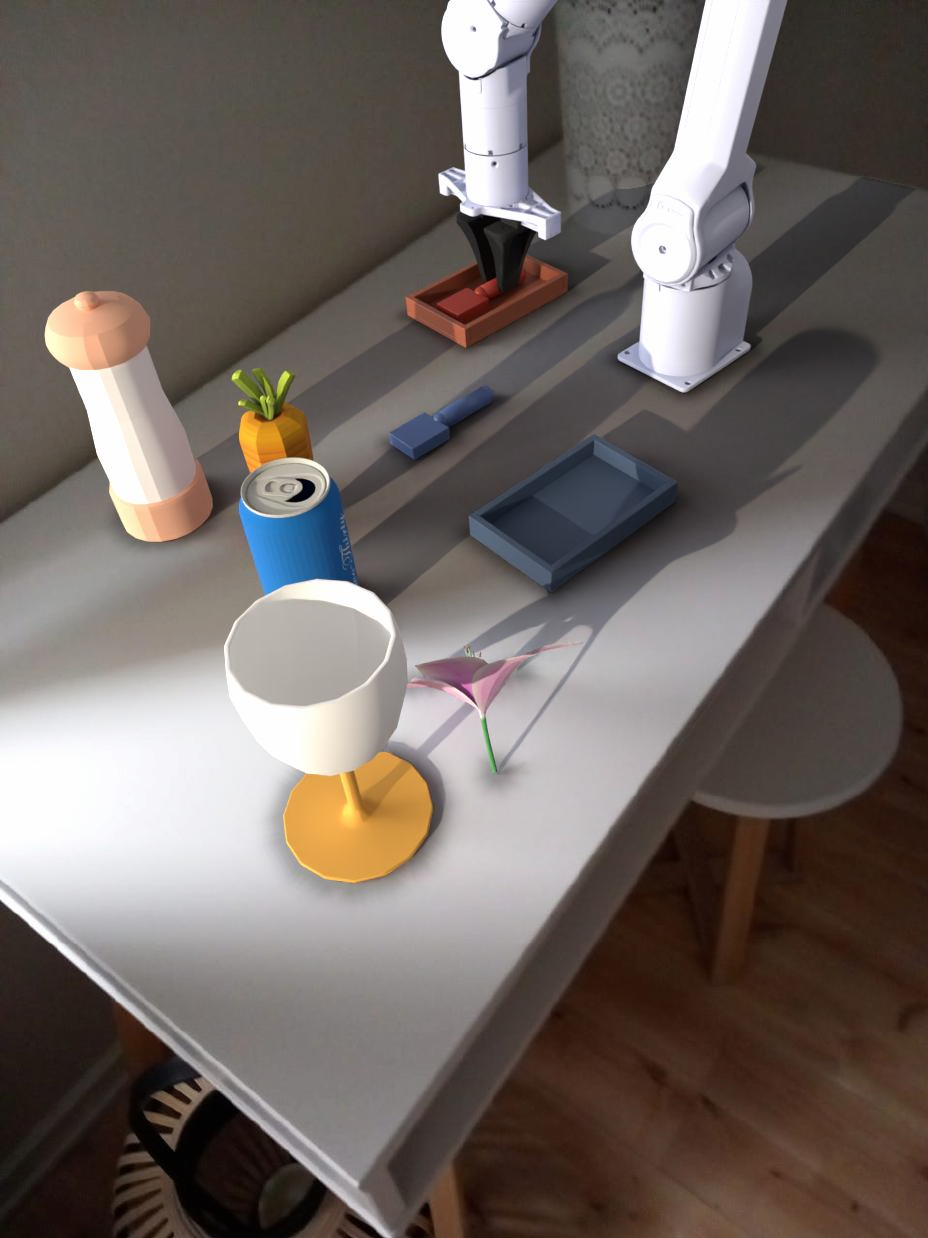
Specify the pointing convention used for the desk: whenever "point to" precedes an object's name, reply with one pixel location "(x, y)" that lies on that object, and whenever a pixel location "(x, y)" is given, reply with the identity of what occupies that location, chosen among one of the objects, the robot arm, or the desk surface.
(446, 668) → the lily
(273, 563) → the beverage can
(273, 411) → the carrot
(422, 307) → the red tray
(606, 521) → the blue tray
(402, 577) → the desk surface
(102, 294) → the pepper shaker
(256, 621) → the cup
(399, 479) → the desk surface
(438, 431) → the blue handled block
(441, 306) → the red handled block
